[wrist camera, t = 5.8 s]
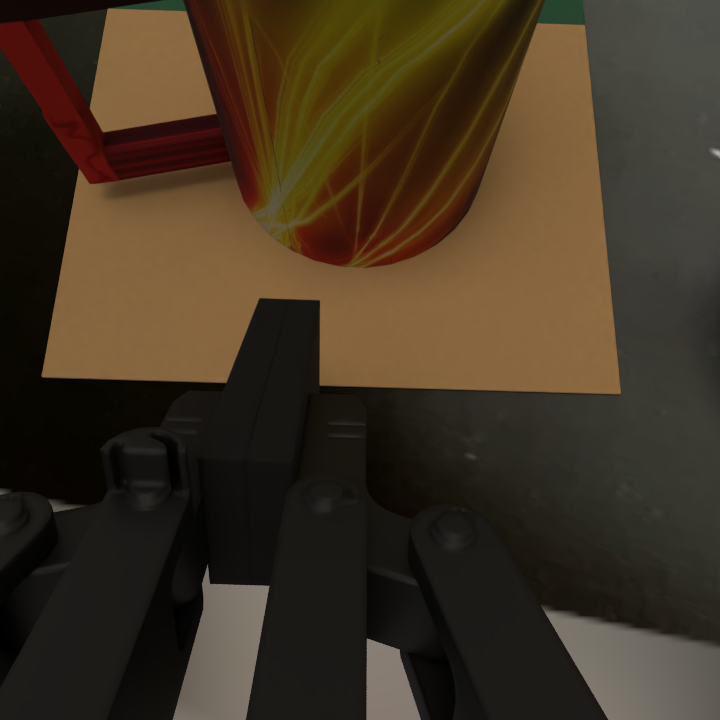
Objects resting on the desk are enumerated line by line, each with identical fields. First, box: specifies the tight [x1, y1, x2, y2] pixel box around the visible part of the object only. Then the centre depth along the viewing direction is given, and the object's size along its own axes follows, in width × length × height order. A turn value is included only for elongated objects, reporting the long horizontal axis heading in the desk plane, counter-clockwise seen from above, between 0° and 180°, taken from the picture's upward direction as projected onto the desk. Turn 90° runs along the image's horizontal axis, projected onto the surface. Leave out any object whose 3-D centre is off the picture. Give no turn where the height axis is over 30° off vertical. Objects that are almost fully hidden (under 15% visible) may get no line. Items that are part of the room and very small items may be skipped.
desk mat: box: [42, 0, 621, 395], centre depth 27 cm, size 20×32×1 cm, turn 179°
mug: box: [0, 0, 545, 268], centre depth 19 cm, size 10×14×12 cm
